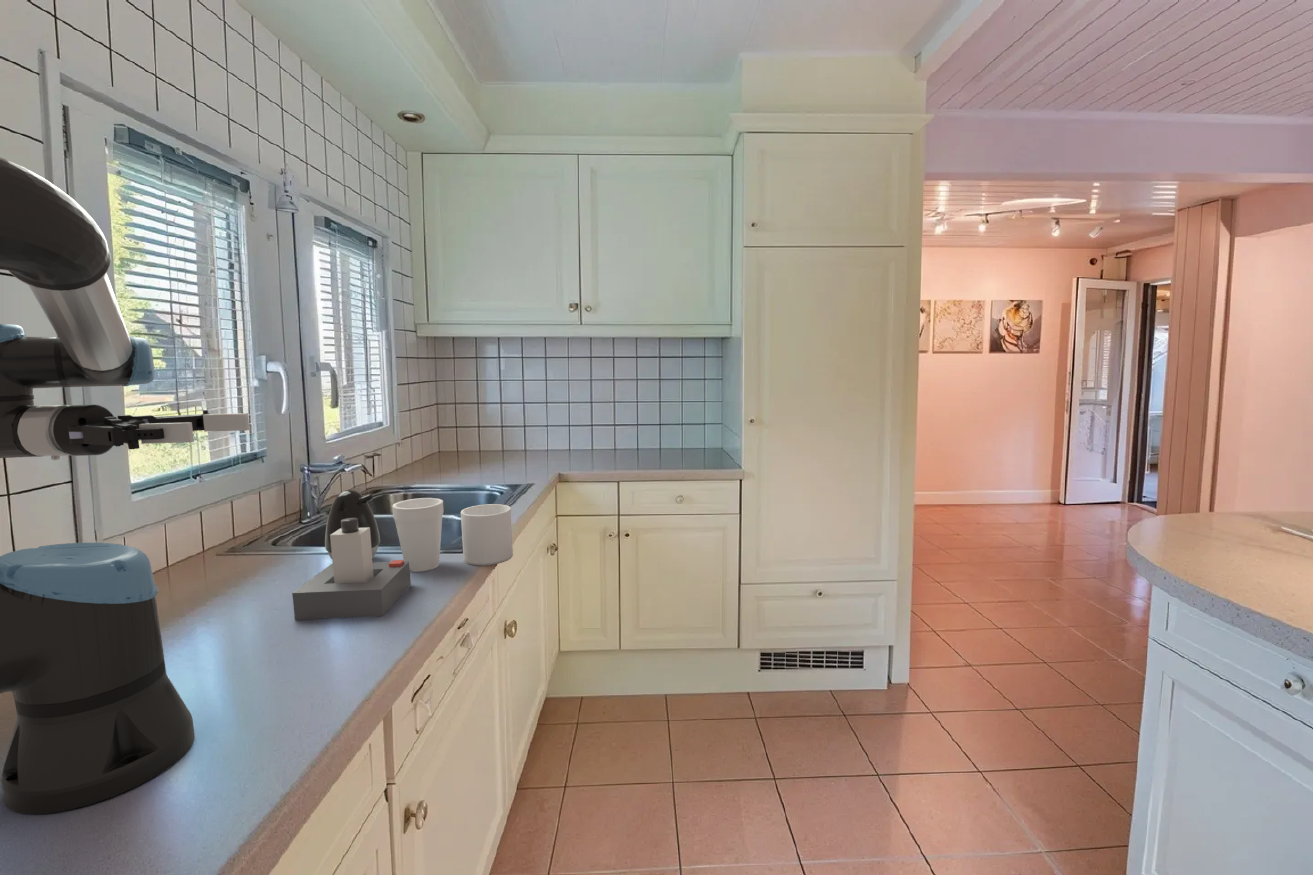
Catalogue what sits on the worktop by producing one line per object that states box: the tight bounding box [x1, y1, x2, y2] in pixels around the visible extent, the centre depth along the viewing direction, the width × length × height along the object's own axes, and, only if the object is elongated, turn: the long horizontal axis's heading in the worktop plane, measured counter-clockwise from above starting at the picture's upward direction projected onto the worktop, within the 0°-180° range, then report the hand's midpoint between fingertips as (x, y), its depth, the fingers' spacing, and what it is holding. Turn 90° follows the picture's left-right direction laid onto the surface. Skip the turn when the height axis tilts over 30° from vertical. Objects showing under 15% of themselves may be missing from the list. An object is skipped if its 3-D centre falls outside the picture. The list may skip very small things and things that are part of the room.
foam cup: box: [391, 497, 445, 573], centre depth 127 cm, size 10×9×13 cm
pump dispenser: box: [324, 489, 381, 560], centre depth 130 cm, size 10×10×15 cm
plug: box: [330, 518, 374, 583], centre depth 109 cm, size 4×5×13 cm
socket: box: [291, 559, 412, 621], centre depth 110 cm, size 14×14×5 cm
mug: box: [460, 503, 514, 567], centre depth 133 cm, size 13×10×10 cm
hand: (221, 426), depth 95 cm, fingers open, 13 cm apart
